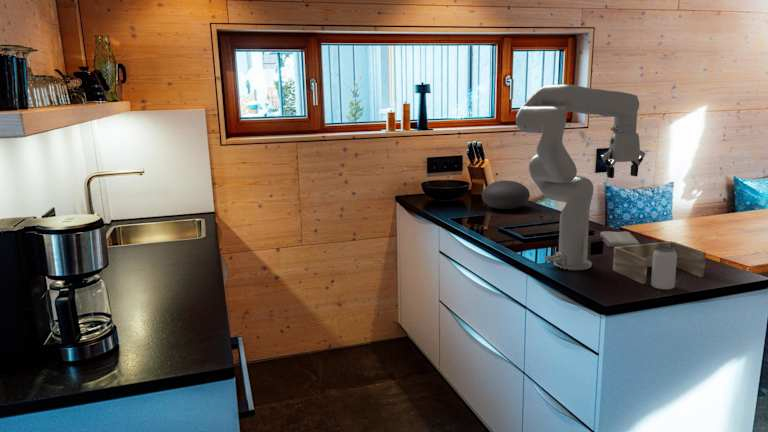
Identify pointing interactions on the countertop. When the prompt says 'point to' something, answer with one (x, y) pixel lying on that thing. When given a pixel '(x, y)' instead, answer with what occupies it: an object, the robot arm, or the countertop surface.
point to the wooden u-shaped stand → (640, 257)
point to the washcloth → (618, 239)
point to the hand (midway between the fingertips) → (622, 176)
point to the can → (664, 268)
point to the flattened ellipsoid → (505, 195)
